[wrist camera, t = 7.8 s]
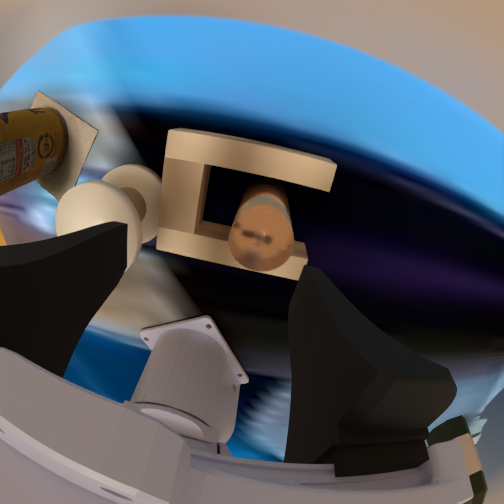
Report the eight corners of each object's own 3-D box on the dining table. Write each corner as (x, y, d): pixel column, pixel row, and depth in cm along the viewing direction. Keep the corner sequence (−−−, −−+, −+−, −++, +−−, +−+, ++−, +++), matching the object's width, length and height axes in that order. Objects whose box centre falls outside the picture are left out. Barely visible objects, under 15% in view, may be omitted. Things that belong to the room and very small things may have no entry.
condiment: (38, 90, 16) (-74, 108, 5) (99, 130, 18) (-31, 167, 7) (15, 160, 19) (-81, 205, 8) (68, 206, 20) (-33, 276, 10)
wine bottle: (424, 443, 37) (447, 566, 10) (427, 429, 34) (455, 570, 7) (461, 426, 35) (491, 545, 8) (468, 409, 32) (505, 544, 5)
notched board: (329, 158, 18) (337, 164, 15) (298, 263, 21) (300, 280, 19) (181, 127, 17) (168, 129, 15) (168, 234, 21) (156, 249, 19)
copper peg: (280, 173, 18) (283, 203, 12) (292, 214, 20) (300, 262, 13) (237, 185, 19) (218, 222, 13) (251, 225, 20) (241, 277, 14)
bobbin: (183, 223, 20) (153, 263, 15) (123, 248, 22) (86, 288, 16) (149, 149, 18) (104, 165, 13) (90, 184, 19) (42, 209, 14)
